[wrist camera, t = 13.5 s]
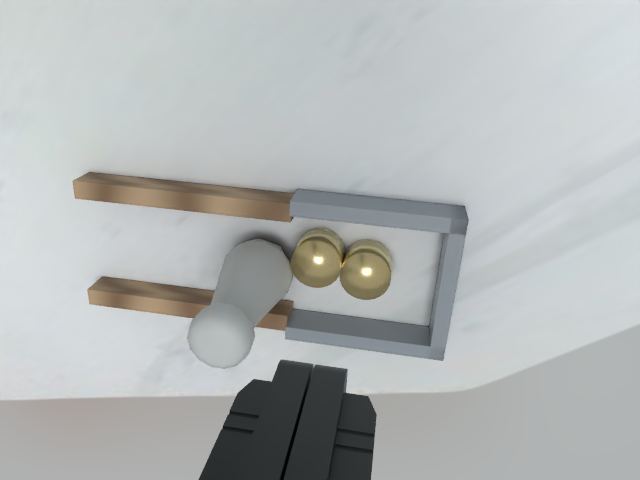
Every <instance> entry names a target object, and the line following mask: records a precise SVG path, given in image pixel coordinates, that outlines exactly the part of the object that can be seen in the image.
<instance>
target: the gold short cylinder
mask: <svg viewBox="0 0 640 480" xmlns="http://www.w3.org/2000/svg"><path fill="white" fill-rule="evenodd" d="M344 255H345V247H344V244H343V242H342V240H341V238H340V237H339V236H338V235H337V234H336V233H334V232H333V231H331V230H328V229H325V228H315V229H311V230H309V231H307V232H306V233H305V234H304V235H303V236H302V237H301V238H300V240H299V242H298V244H297V247H296V249H295V251H294V253H293V255H292V258H291V269H292V271H293V274H294V275H295V277H296V278H297V279H298V280H299V281H300V282H302V283H303V284H305V285H307V286H310V287H315V288H320V287H325V286H328V285H330V284H332V283H333V282H334V281H335V280H336V279H337V277H338V276H339V273H340V270H341V266H342V263H343V259H344Z"/></svg>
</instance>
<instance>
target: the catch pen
mask: <svg viewBox="0 0 640 480" xmlns="http://www.w3.org/2000/svg"><path fill="white" fill-rule="evenodd" d="M289 216H293V217H302V218H311V219H321V220H330V221H339V222H348V223H357V224H366V225H375V226H384V227H394V228H403V229H412V230H421V231H430V232H439V233H444V239H443V245H442V251H441V257H440V264H439V270H438V276H437V282H436V288H435V294H434V301H433V307H432V313H431V319H430V325H429V327H428V326H420V325H413V324H405V323H397V322H390V321H382V320H374V319H367V318H359V317H352V316H344V315H336V314H329V313H321V312H313V311H306V310H298V309H293V310H292V313H291V315H290V318H289V320H288V323H287V325H286V332H285V339H289V340H296V341H303V342H310V343H318V344H325V345H332V346H339V347H347V348H354V349H361V350H368V351H376V352H383V353H390V354H397V355H405V356H412V357H419V358H426V359H434V360H441V361H443V359H444V353H445V348H446V342H447V337H448V331H449V325H450V320H451V314H452V309H453V303H454V298H455V292H456V287H457V281H458V275H459V270H460V264H461V259H462V253H463V248H464V242H465V237H466V231H467V225H468V217H467V213H466V209H465V206H457V205H447V204H438V203H428V202H418V201H408V200H399V199H389V198H379V197H370V196H360V195H350V194H341V193H331V192H321V191H312V190H302V189H297V191H296V192H295V194H294V196H293V197H292V199H291V200H290V214H289Z"/></svg>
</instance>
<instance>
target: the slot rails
mask: <svg viewBox="0 0 640 480" xmlns="http://www.w3.org/2000/svg"><path fill="white" fill-rule="evenodd" d="M73 188H74V195H75V198H76V199H85V200H94V201H103V202H112V203H121V204H130V205H139V206H148V207H157V208H166V209H175V210H184V211H193V212H202V213H211V214H220V215H229V216H238V217H247V218H256V219H265V220H274V221H283V222H291V221H292V219H293V216H289V214H290V200H291V199H292V197H293V196H294V194H293V193H284V192H274V191H265V190H255V189H246V188H236V187H226V186H217V185H207V184H198V183H188V182H178V181H169V180H159V179H150V178H140V177H131V176H121V175H111V174H102V173H92V172H89V173H87V174H85V175H83V176H81V177H79V178H77V179H75V180H73ZM214 292H215V291H211V290H203V289H195V288H187V287H180V286H172V285H164V284H156V283H149V282H141V281H133V280H125V279H118V278H110V277H101V278H100V279H99V280H98V281H97V282H96V283H94V284H93V285H92V286H91V287H90V288H89V289H88V296H89V304H92V305H100V306H107V307H114V308H122V309H129V310H136V311H144V312H151V313H158V314H166V315H173V316H180V317H188V318H195V316H196V315H197V314H198V313H199V312H201V311H202V310H203V309H204V308H205V307H207V306H210V305H211V302H212V299H213V295H214ZM292 310H293V301H288V300H280V301H279V302H278V303H277V304H276V305H275V306H274V307H273V308H272V309H271V310H270V311H269V312H268V313H267V314H266V315H265V316H264V317H263V318H262V320H261V321H260V322H259V323H258V324H257V325H256V326H255V327H261V328H269V329H276V330H283V331H286V325H287V323H288V320H289V318H290V315H291V313H292Z"/></svg>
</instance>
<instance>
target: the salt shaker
mask: <svg viewBox="0 0 640 480" xmlns="http://www.w3.org/2000/svg"><path fill="white" fill-rule="evenodd" d="M292 277H293V276H292V270H291V265H290V261H289V260H288V259H287V257H286V256H285V254H284V253H283V250H282V248H281V246H280V245H277V244H274V243H271V242H268V241H265V240H263V239H253V240H249V241H246V242H243V243H240V244H238V245H237V246H235V247H234V248H233V249H232V250H231V251H230V252H229V253H228V254H227V255H226V257H225V261H224V264H223V267H222V270H221V273H220V276H219V280H218V283H217V286H216V289H215V292H214V295H213V299H212V302H211V305H210V306H207V307H205V308H204V309H203V310H202V311H201V312H199V313H198V314H197V315H196V316H195V318H194V319H193V320H192V322H191V325H190V328H189V333H188V337H187V338H188V342H189V346H190V350H191V351H192V352H193V353H194V354H195V355H196V357H197V358H198V359H199V360H200V361H202V362H204V363H206V364H207V365H209V366H211V367H217V368H223V369H225V368H229V367H234V366H237V365H238V364H239V363H240V362H241V361H242V360H243V359H245V358H246V356H247V355H248V354H249V352H250V349H251V347H252V344H253V341H254V338H255V333H254V327H255V326H256V325H257V324H258V323H259V322H260V321H261V320H262V318H263V317H264V316H265V315H266V314H267V313H268V312H269V311H270V310H271V309H272V308H273V307H274V306H275V305H276V304H277V303H278V302H279V301H280V300H281V299H282V298H283V296H284V295H285V294H286V293H287V292H288V290H289V287H290V284H291V281H292Z"/></svg>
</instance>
